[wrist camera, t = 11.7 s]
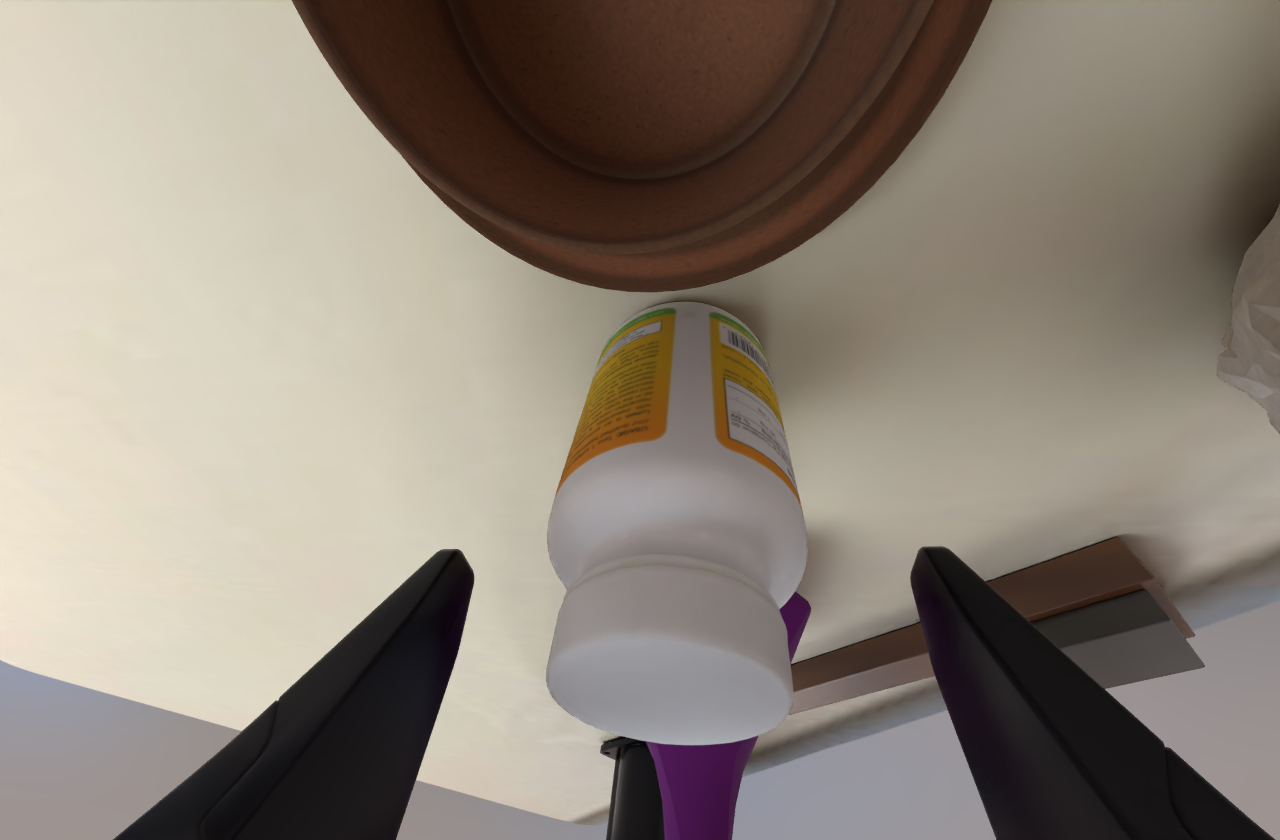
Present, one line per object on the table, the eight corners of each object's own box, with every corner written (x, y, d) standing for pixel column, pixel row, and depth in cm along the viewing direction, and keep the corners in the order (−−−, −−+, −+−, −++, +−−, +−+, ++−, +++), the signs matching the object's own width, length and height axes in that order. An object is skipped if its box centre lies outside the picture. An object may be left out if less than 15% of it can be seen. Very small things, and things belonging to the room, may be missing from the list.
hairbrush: (793, 699, 28) (802, 758, 26) (741, 667, 27) (745, 727, 24) (1160, 594, 19) (1224, 668, 17) (1118, 535, 18) (1182, 610, 15)
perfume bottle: (768, 628, 24) (871, 1475, 10) (620, 614, 24) (512, 1392, 10) (797, 531, 19) (1075, 1873, 5) (614, 518, 20) (404, 1683, 6)
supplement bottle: (597, 430, 17) (514, 740, 9) (601, 286, 14) (477, 584, 6) (748, 449, 17) (789, 779, 9) (789, 307, 13) (907, 641, 6)
